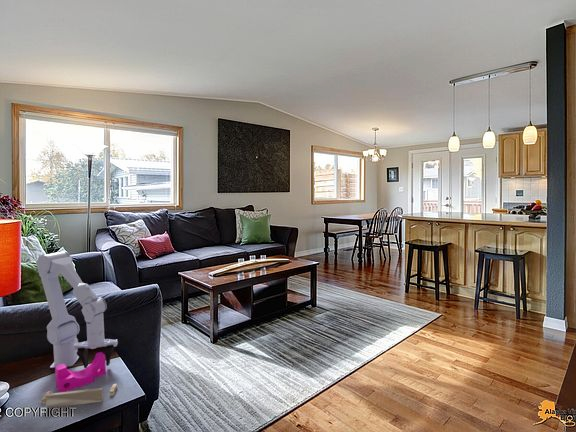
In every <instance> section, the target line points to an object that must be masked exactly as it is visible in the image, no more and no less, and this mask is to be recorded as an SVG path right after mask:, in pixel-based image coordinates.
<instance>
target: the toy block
mask: <svg viewBox="0 0 576 432" xmlns="http://www.w3.org/2000/svg"><path fill="white" fill-rule="evenodd" d="M106 371H107V369H106V354H105V352H103V351H99V352H96V353H95V356H94V359H93V361H92V362H91V363H90V364H88V366H87V368H84V369H81V370H77V371H74V370H70V369H68V366H67V367H66V366H65V364H60V365H57V366H55V368H54V374H55V387H56V389H57V391H58V393H61V392H70V391H73V390H75V389H77V388H80V387H82V386H85V385H88V384H92V383H94V382H95V379H96V378H98V376H99V377H101V376H105V375H106V374H107V372H106ZM95 377H96V378H95ZM91 382H92V383H91Z"/></svg>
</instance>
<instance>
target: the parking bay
mask: <svg viewBox="0 0 576 432" xmlns="http://www.w3.org/2000/svg"><path fill="white" fill-rule="evenodd" d="M117 389H118V383H113V384H112V386H111V387H110V390H109V396H110V397H113V396H114V395H115V393H116V391H117ZM103 390H104V387H99V388H97V387H96V388H89V389H87V388H86V389H81V390H80V389H79V390H70V391H67V392H61V393H60V392H53V393H52V391H50V390H49V391H47V392H45V394H44V395H43V397H42V398H41V399H40V401H41V402H40V404H42V405H43V404H44V405H45V404H46V409H52V408H58V407H59V408H61V407H69V406H76V405H84V404H92V403H101V402H103V400H104V391H103Z"/></svg>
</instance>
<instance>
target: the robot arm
mask: <svg viewBox="0 0 576 432" xmlns="http://www.w3.org/2000/svg"><path fill="white" fill-rule="evenodd" d="M35 265H36V267H37V271H38V275H39V277H40V279H41V283H42V287H43V290H44V291H43V292H44V294H45V298H46V301H47V305H48V309H49V312H50V315H51V320H50V322H49V323H48V324H47V326H46V330H47V333H46V338H47V341H48V342H49V343H50V344H52V345H53V347H52V348H53V360H54V361H53V363H52V364H51V365H50V366H49V368H50V369H55V366H57V365H60V364H65V366H66V367H67V368H68V367H73V366H74V365H75V363H76V362H77V361H78V360H79V358H80V361H81V363H82V365H83V367H84V369H85V368H87V367H88V366H89V349H91V350H94V349H97V348H103V347H105V349H104V355H105V365H106V366H107V367H108V366H110V364H111V358H112V354H113V351H114V348H115V347H117V346H118V343H119V341H118V339H110V338H105V322H104V318H105V317H104V312H105V311H106V310H107V308H108V307H107V301H106V300H105V299H104V298H103V297H100V296H99V295H96V293H95V292H94V290H93V289H92V288H91V286H90V285H89V284H88V283H84V282H83V281H82V279H81V277H80V276H79V275H78V273H77V270H76V269H75V268H74V266H73V257H72V256H71V254H70V253H69V252H68V251H66V250H61V251H57V252H51V253H46V254H41V255H39V256H38V257H37V260H36V262H35ZM59 275H61V276H62V277H63V278H64V279H65V280H66V281H67V283H68V284H69V285H70V286H71V287H72V288H73V289H72V294H73V295H74V297H75V298H76V300H77V302H79V304H80V305H81V307H82V309H81V312H82V315H83V317H84V321H85V323H86V324H85V325H86V338H87V339H86V341H85V340H84V341H81V342H79V339H78V338H77V335H78V334H79V333H80V331H81V330H80V328H81V327H80V325H79V323H78V322H77V320H76V317H75V316H73V315H70V314H69V312H68V309H67V306H66V301H65V297H64V294H63V291H62V287H61V284H60V280H59Z"/></svg>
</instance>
